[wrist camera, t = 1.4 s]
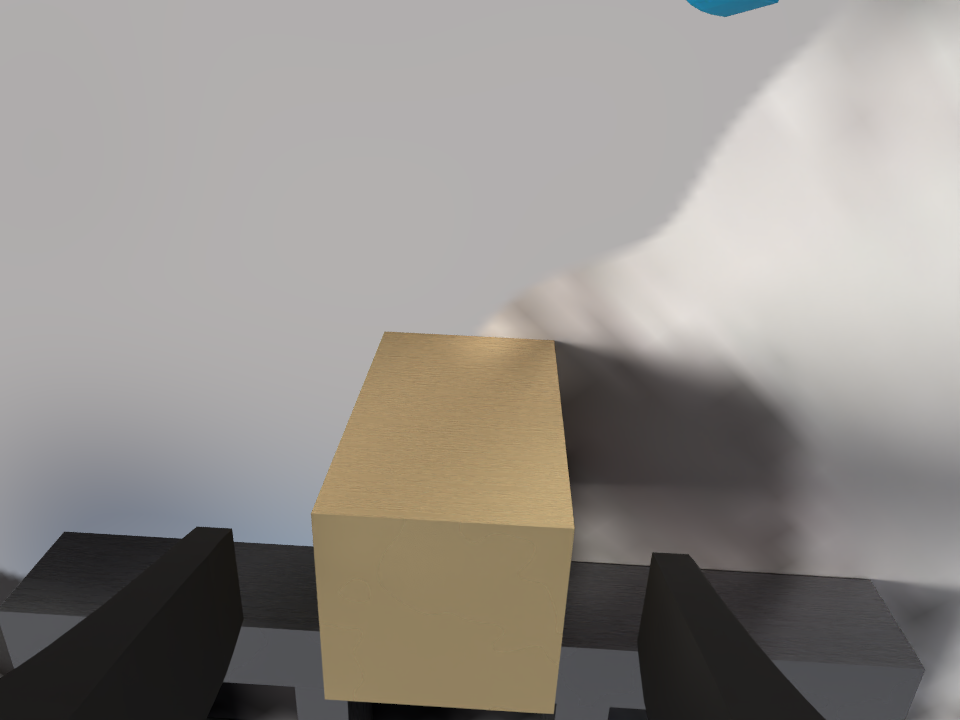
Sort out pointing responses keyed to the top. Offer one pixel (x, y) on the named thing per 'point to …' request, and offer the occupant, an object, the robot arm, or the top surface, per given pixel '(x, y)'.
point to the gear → (729, 6)
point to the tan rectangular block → (447, 529)
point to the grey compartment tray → (585, 641)
